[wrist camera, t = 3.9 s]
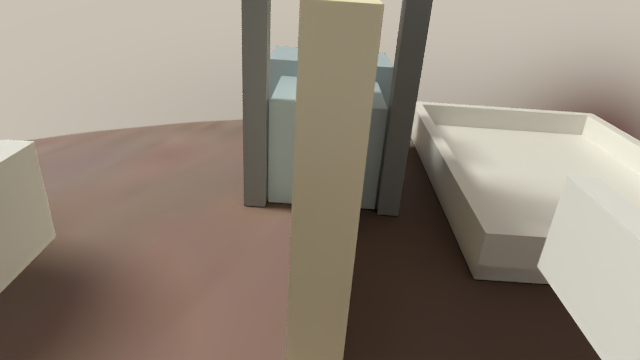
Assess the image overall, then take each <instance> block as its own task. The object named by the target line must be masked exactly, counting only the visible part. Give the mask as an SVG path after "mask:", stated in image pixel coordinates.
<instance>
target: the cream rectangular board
mask: <svg viewBox="0 0 640 360" xmlns="http://www.w3.org/2000/svg"><path fill="white" fill-rule="evenodd" d="M383 11H384V4H383V3H382V2H381V1H379V0H300V12H299V37H298V61H297V86H296V111H295V136H294V161H293V186H292V211H291V236H290V261H289V286H288V310H287V335H286V360H343V355H344V346H345V338H346V329H347V320H348V312H349V303H350V295H351V286H352V277H353V269H354V260H355V252H356V243H357V234H358V226H359V217H360V209H361V200H362V191H363V183H364V174H365V166H366V157H367V148H368V140H369V131H370V123H371V114H372V105H373V97H374V88H375V80H376V71H377V62H378V54H379V45H380V36H381V27H382V19H383Z"/></svg>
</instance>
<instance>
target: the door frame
mask: <svg viewBox="0 0 640 360" xmlns="http://www.w3.org/2000/svg"><path fill="white" fill-rule="evenodd" d="M432 2H433V0H403V1H402V9H401V16H400V24H399V31H398V39H397V46H396V54H395V61H394V67H393V66H392V64H391V62H390V60H389V59H388V57H387V55H386V54H385V53H379V54H378V62H377V71H376V80H375V88H374V97H373V105H372V114H371V123H370V131H369V140H368V148H367V157H366V166H365V174H364V183H363V191H362V200H361V208H364V209H375V205H376V210H377V215H391V216H398V214H399V208H400V202H401V196H402V189H403V183H404V177H405V171H406V164H407V158H408V152H409V146H410V139H411V133H412V127H413V121H414V114H415V108H416V102H417V95H418V89H419V83H420V77H421V70H422V64H423V58H424V52H425V46H426V40H427V33H428V27H429V21H430V15H431V8H432ZM270 7H271V0H242V71H243V72H242V74H243V75H242V76H243V164H244V206H259V207H265V205H266V202H267V198H268V202H276V203H290V204H292V186H293V161H294V136H295V111H296V86H297V61H298V47H288V46H276V47H275V49H274V50H273V52H272V53H271V55H270V10H271V8H270ZM268 160H269V179H268ZM379 172H380V174H379ZM378 180H379V181H378ZM377 187H378V189H377ZM376 195H377V196H376ZM375 202H376V204H375Z"/></svg>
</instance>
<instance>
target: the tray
mask: <svg viewBox="0 0 640 360" xmlns="http://www.w3.org/2000/svg"><path fill="white" fill-rule="evenodd" d="M411 139H412V141H413V144H414V146H415V148H416V150H417V153H418V155H419V157H420V159H421V162H422V164H423V166H424V168H425V171H426V173H427V175H428V177H429V180H430V182H431V184H432V186H433V188H434V191H435V193H436V195H437V197H438V200H439V202H440V204H441V206H442V209H443V211H444V213H445V215H446V218H447V220H448V222H449V224H450V227H451V229H452V231H453V233H454V236H455V238H456V240H457V242H458V245H459V247H460V249H461V251H462V254H463V256H464V258H465V260H466V263H467V265H468V267H469V269H470V272H471V274H472V276H473V278H474V279H479V280H494V281H509V282H524V283H538V284H549V283H548V281H547V280H546V278H545V277H544V276H543V274H542V273H541V271H540V270H539V268H538V267H537V265H538V262H539V259H540V256H541V253H542V250H543V247H544V244H545V241H546V238H547V235H548V232H549V229H550V226H551V223H552V220H553V217H554V214H555V211H556V208H557V205H558V202H559V199H560V196H561V193H562V190H563V187H564V184H565V181H566V178H567V176H581V177H596V178H599V179H600V180H602V181H603V182H604V183H605V184H607V185H608V186H609V187H610V188H612V189H613V190H614V191H615V192H617V193H618V194H619V195H620V196H622V197H623V198H624V199H626V200H627V201H628V202H629V203H631V204H632V205H633V206H634V207H636V208H637V209H638V210H639V211H640V141H639V140H637V139H635V138H634V137H632V136H630V135H628V134H627V133H625V132H623V131H621V130H619V129H618V128H616V127H614V126H613V125H611V124H609V123H608V122H606V121H604V120H602V119H601V118H599V117H597V116H596V115H594V114H592V113H576V112H563V111H548V110H534V109H518V108H504V107H490V106H489V107H488V106H476V105H461V104H446V103H432V102H418V101H417V102H416V108H415V114H414V121H413V127H412V133H411Z"/></svg>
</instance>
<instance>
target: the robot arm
mask: <svg viewBox="0 0 640 360" xmlns="http://www.w3.org/2000/svg"><path fill="white" fill-rule="evenodd" d="M55 237H56V235H55V230H54V226H53V222H52V217H51V213H50V208H49V204H48V200H47V195H46V191H45V186H44V182H43V178H42V173H41V169H40V164H39V160H38V156H37V151H36V147H35V142H34V141H18V140H1V141H0V293H1V292H2V291H3V290H4V289H5V288H6V287H7V286H8V285H9V284H10V283H11V282H12V281H13V280H14V279H15V278H16V277H17V276H18V275H19V274H20V273H21V272H22V271H23V270H24V269H25V268H26V267H27V266H28V265H29V264H30V263H31V262H32V261H33V260H34V259H35V258H36V257H37V256H38V255H39V254H40V253H41V252H42V251H43V249H44V248H45V247H46V246H47V245H48V244H49V243H50V242H51V241H52V240H53V239H54V238H55ZM537 267H538V268H539V270H540V271H541V273H542V274H543V276H544V277H545V278H546V280H547V281H548V283H549V284H550V286H551V287H552V289H553V290H554V292H555V293H556V294H557V296H558V297H559V299H560V300H561V302H562V303H563V305H564V306H565V308H566V309H567V310H568V312H569V313H570V315H571V316H572V318H573V319H574V321H575V322H576V323H577V325H578V326H579V328H580V329H581V331H582V332H583V334H584V335H585V337H586V338H587V339H588V341H589V342H590V344H591V345H592V347H593V348H594V350H595V351H596V353H597V354H598V355H599V357H600V358H601V360H640V211H639V210H638V209H637V208H636V207H634V206H633V205H632V204H631V203H629V202H628V201H627V200H626V199H624V198H623V197H622V196H620V195H619V194H618V193H617V192H615V191H614V190H613V189H612V188H610V187H609V186H608V185H607V184H605V183H604V182H603V181H602V180H600V179H599V178H596V177H581V176H567V178H566V181H565V184H564V187H563V190H562V193H561V196H560V199H559V202H558V205H557V208H556V211H555V214H554V217H553V220H552V223H551V226H550V229H549V232H548V235H547V238H546V241H545V244H544V247H543V250H542V253H541V256H540V259H539V262H538V265H537Z"/></svg>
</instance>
